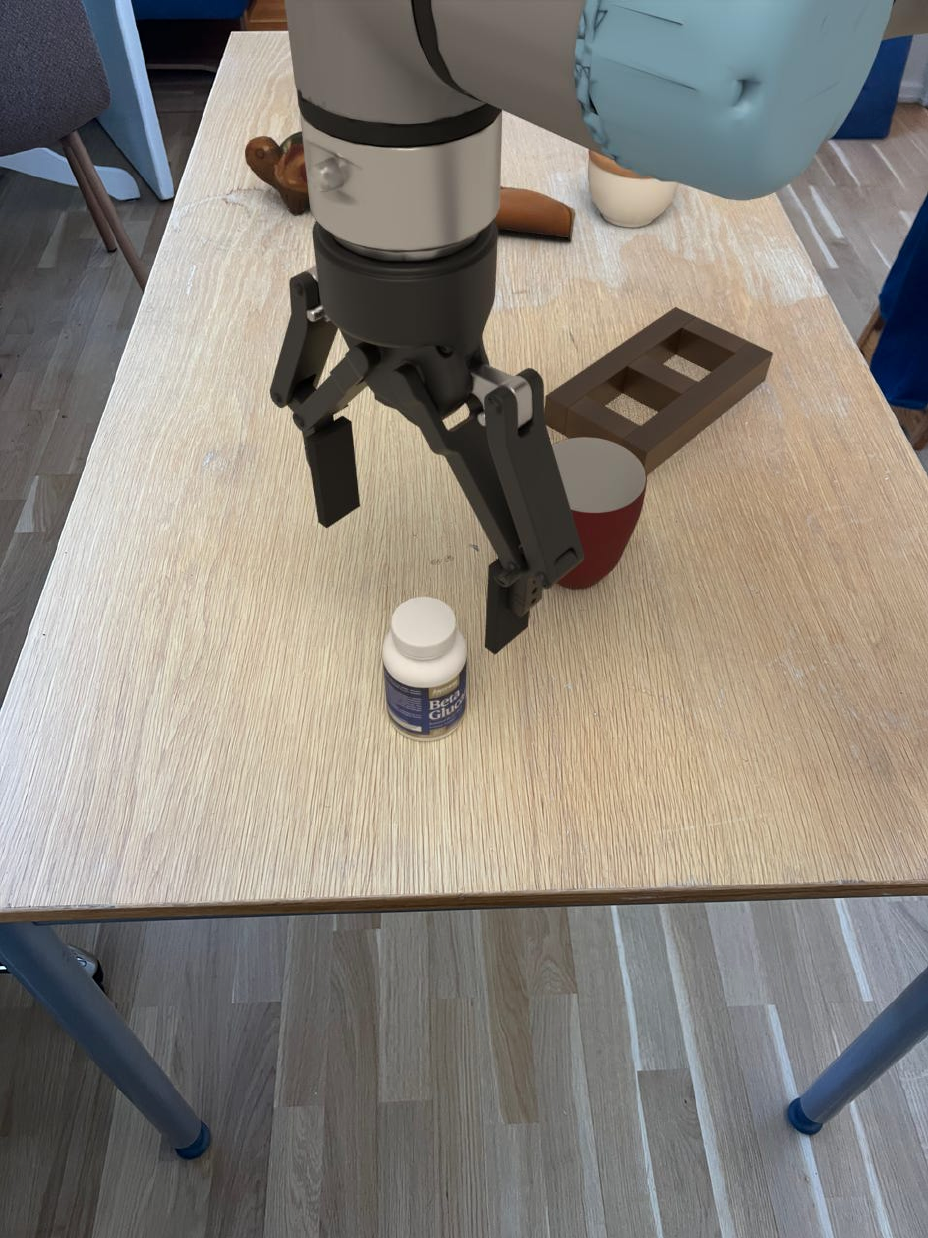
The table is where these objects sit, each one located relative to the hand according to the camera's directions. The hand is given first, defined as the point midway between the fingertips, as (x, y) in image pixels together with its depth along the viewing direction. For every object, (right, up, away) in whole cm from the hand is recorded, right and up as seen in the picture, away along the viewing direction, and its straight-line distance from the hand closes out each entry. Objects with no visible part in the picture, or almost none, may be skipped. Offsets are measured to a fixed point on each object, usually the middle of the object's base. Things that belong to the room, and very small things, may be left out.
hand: (418, 572), depth 54 cm
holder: (+20, +17, +33) cm, 42 cm away
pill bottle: (0, -9, +11) cm, 14 cm away
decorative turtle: (-14, +46, +57) cm, 74 cm away
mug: (+10, 0, +19) cm, 21 cm away
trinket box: (+22, +44, +55) cm, 74 cm away
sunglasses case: (+6, +43, +54) cm, 69 cm away
